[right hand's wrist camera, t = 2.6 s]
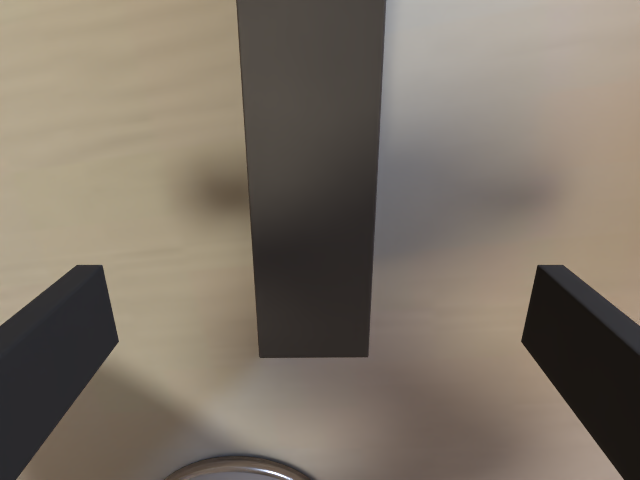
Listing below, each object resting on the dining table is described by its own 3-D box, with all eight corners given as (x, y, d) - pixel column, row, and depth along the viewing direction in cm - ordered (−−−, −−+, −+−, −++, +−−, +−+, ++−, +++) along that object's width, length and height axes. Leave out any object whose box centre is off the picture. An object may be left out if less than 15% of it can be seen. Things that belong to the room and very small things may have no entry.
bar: (351, 266, 25) (368, 357, 17) (277, 266, 25) (259, 358, 17) (370, -368, 16) (429, -852, 8) (251, -369, 16) (180, -856, 8)
